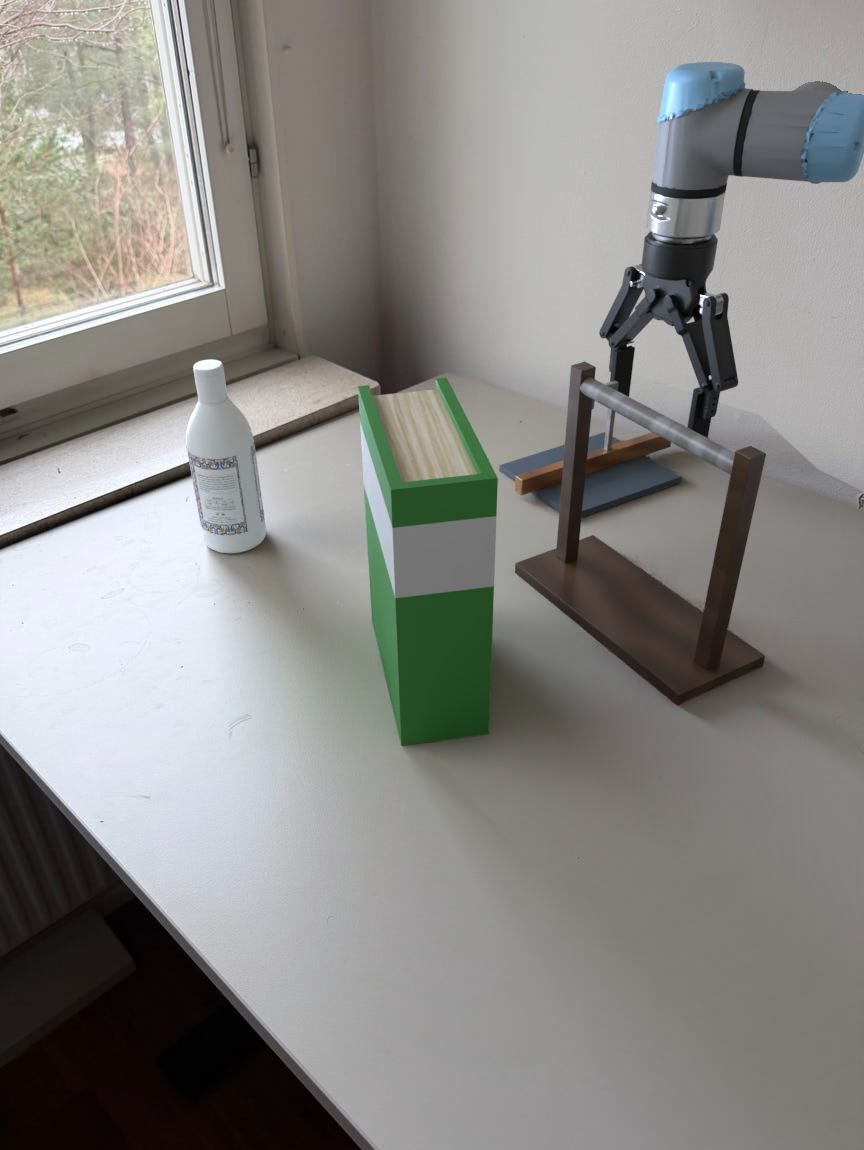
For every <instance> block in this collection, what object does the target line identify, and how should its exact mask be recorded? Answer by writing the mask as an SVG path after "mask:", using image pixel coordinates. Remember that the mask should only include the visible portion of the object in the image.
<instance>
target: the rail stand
mask: <svg viewBox="0 0 864 1150" xmlns="http://www.w3.org/2000/svg"><path fill="white" fill-rule="evenodd" d="M596 370H597V367H596V366H595V365H592V364H590V363H588V362H587V361H581V362H578V363H575V364H571V365H570V374H569V386H568V399H567V413H566V422H565V423H566V424H565V436H564V445H565V448H564V461H563V473H562V486H561V498H560V511H559V512H558V524H557V537H556V548H553V549H550V550H548V551H547V550H546V551H544V552H542V553H540V554H537V555H533V556H531V557H528V558H526V559H522V560H520V561H517V562H515V564H514V573H515V574H516V575H517V576H518V577H519V578H521V579H522V580H523V581H524V582H525V583H527V584H528V585H529V586H530V587H532V588H533V589H534V590H536V592H537V593H539V594H540V595H542V596H543V597H544V598H545V599H546V600H547V601H549V602H550V603H551V604H552V605H553V606H555V607H556V608H557V609H559V610H560V611H561V612H562V613H564V614H565V615H566V616H567V617H568V618H570V619H571V620H572V621H573V622H574V623H576V624H577V625H578V626H579V627H580V628H582V629H583V630H584V631H586V632H587V633H588V634H589V635H590V636H592V637H593V638H594V639H595V640H597V642H599V643H600V644H601V645H602V646H604V647H605V648H607V649H608V650H609V651H610V652H611V653H612V654H614V655H615V656H616V657H618V658H619V659H620V660H621V661H622V662H624V664H626V665H627V666H628V667H630V668H631V669H632V670H633V671H635V672H636V673H637V674H638V675H640V677H642V678H643V680H645V681H646V682H648V683H649V684H650V685H652V686H653V687H654V688H655V689H656V690H658V691H659V692H660V693H661V694H663V695H664V696H665V697H666V698H667V699H668V700H670V702H672V703H674V704H675V705H676V706H679V705H681V704H683V703H685V702H687V701H689V700H691V699H694V698H696V697H698V696H700V695H703V694H705V693H707V692H710V691H712V690H714V689H716V688H719V687H720V686H722V685H724V684H726V683H729V682H732V681H733V680H735V679H738V678H740V677H742V676H744V675H746V674H749V673H751V672H753V671H755V670H757V669H760V668H761V667H763V666H764V662H765V658H766V655H765V654H763V652H760V651H759V650H757V648H755V647H753V646H752V645H751V644H749V642H746V641H745V640H744V639H742V638H741V637H739V636H738V635H737V634H735V633H734V632H732V631H731V630H729V625H730V620H731V615H732V611H733V607H734V602H735V598H736V592H737V589H738V583H739V579H740V575H741V570H742V565H743V562H744V556H745V553H746V547H747V543H748V538H749V533H750V529H751V525H752V521H753V516H754V512H755V506H756V503H757V497H758V493H759V489H760V484H761V480H762V475H763V471H764V466H765V461H766V457H767V453H766V452H765V451H762V450H760V449H758V448H756V447H754V446H753V445H749V446H745V447H742V448H740V449H737V450H735V451H733V450H732V449H729V448H727V447H726V446H725V445H722V444H720V443H718V442H716V441H714V440H712V439H710V438H709V437H708V438H706V437H704V436H703V435H701V434H699V433H697V432H695V431H693V430H691V429H689V428H687V427H688V426H685V425H683V424H681V423H680V422H677V421H676V420H673V419H672V418H670V417H668V416H666V415H664V414H662V413H660V412H659V411H657V410H655V409H653V408H651V407H649V406H647V405H645V404H644V403H642V402H640V401H637V400H636V399H634V398H631V397H630V396H629V397H628V396H626V395H624V394H622V393H620V392H618V391H616V390H614V389H613V388H611V387H609V386H607V385H605V384H604V383H603V382H601V381H599V380H597V379H595V378H596V372H597V371H596ZM593 400H595V402H596V403H598V404H600V405H602V406H604V407H606V408H607V409H608V408H609V409H611V410H613V411H615V413H617V414H618V415H620V416H621V417H624V418H626V419H627V420H629V421H631V422H633V423H635V424H637V425H639V426H640V427H642V428H644V429H646V430H648V431H649V432H650V433H652V432H653V433H655V434H657V435H659V436H660V437H662V438H664V439H666V440H668V441H670V442H671V444H673V445H675V446H677V447H678V448H681V449H683V451H686V452H688V453H689V454H692V455H694V456H695V457H697V458H699V459H701V460H703V461H705V462H706V463H708V464H710V465H712V466H713V467H715V468H718V469H719V470H721V471H723V472H725V473H726V474H728V475H729V481H728V486H727V489H726V490H727V491H726V496H725V500H724V506H723V512H722V516H721V520H720V527H719V531H718V532H719V533H718V536H717V541H716V546H715V551H714V556H713V560H712V561H713V562H712V567H711V572H710V576H709V581H708V587H707V592H706V597H705V601H704V606H703V610H701V609H699V608H698V607H696V606H695V605H694V604H693V603H691V602H689V601H688V600H687V599H685V598H684V597H683V596H681V595H680V594H678V593H676V591H674V590H672V589H671V588H669V586H667V585H666V584H663V582H661V581H660V580H658V579H656V578H655V577H654V576H652V575H651V574H649V572H647V571H645V570H644V569H642V567H639V565H637V564H635V563H634V562H632V560H630V559H628V558H627V557H625V556H624V555H622V554H621V553H619V552H618V551H617V550H615V549H614V548H612V547H611V546H610V545H608V544H607V543H605V542H604V541H602V540H601V539H600V538H598V537H597V536H595V535H594V534H592V535H589V536H586V537H584V538H581V528H582V527H581V526H582V518H583V517H582V507H583V496H584V486H585V476H586V465H587V455H588V444H589V437H590V433H591V423H592V413H593V409H592V402H593ZM580 538H581V539H580Z"/></svg>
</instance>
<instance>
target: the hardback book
mask: <svg viewBox="0 0 864 1150" xmlns="http://www.w3.org/2000/svg"><path fill="white" fill-rule="evenodd" d="M357 395H358V396H357V397H358V412H359V413H358V414H359V427H360V428H359V429H360V430H359V431H360V443H361V444H360V446H361V462H362V478H363V479H362V480H363V494H364V495H363V496H364V509H365V511H364V512H365V525H366V526H365V527H366V528H365V529H366V543H367V544H366V545H367V559H368V560H367V561H368V579H369V593H370V594H369V596H370V611H371V612H370V613H371V623H372V628H373V629H374V630H373V631H374V635H375V636H374V637H375V640H376V643H377V648H378V652H379V657H380V660H381V665H382V669H383V673H384V678H385V682H386V686H387V691H388V695H389V699H390V703H391V708H392V713H393V716H394V721H395V724H396V729H397V733H398V737H399V740H400V745H401V746H410V745H417V744H424V743H431V742H439V741H448V740H454V739H463V738H468V737H476V736H482V735H489V734H490V711H491V683H492V658H493V657H492V654H493V653H492V652H493V626H494V625H493V624H494V602H495V601H494V600H495V599H494V597H495V596H494V595H495V573H496V572H495V571H496V544H497V541H496V540H497V516H498V515H497V514H498V511H497V510H498V486H499V485H498V484H499V478H498V476H497V473H496V471H495V469H494V468H493V465H492V464H491V462H490V459H489V458H488V456H487V454H486V452H485V449H484V448H483V445H482V444H481V442H480V440H479V439H478V437H477V435H476V432H475V430H474V428H473V427H472V424H471V422H470V420H469V419H468V417H467V414H466V412H465V411H464V408H463V407H462V405H461V403H460V400H459V399H458V397H457V394H456V393H455V391H454V389H453V387H452V385H451V383H450V382H449V379H448V378H447V377H438V378H435V388H434V389H425V390H415V391H406V392H396V393H387V394H386V393H385V394H376V395H373V392H372V390H371V387H370V384H366V385H358V386H357Z"/></svg>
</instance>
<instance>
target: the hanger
mask: <svg viewBox="0 0 864 1150" xmlns="http://www.w3.org/2000/svg"><path fill="white" fill-rule="evenodd" d="M618 383H619V382H617V381H611V382H610V381H608V382H604V383H603V384H605V385H607V386H609V387H611V388H613V389H614V390H616V391H618ZM595 402H596V401H595V400H593V402H592V410H594V409H595ZM606 414H607V415H606V424H605V431H604V432H605V441H604V448H601V449H598V450H595V451H592V452H589V453H588V455H587V465H586V474H589V473H592V472H595V471H599V470H602V469H605V468H608V467H611V466H614V465H617V464H620V463H623V462H626V461H629V460H632V459H635V458H638V457H641V456H644V455H645V456H648V455H650V454H654V453H656V452H660V451H663V450H666V449H669V448H671V447H672V443H671V442H670V441H668V440H666V439H664V438H662V437H660V436H659V435H657V434H655V433H653V432H649V433H646V434H642V435H639V436H636V437H633V438H629V439H626V440H623V441H621V442H620V443H617V444H614V445H612V437H614V428H615V418H616V412H615V411H613V410H611V409H609V408H607V413H606ZM563 461H564V460H563ZM563 461H560V462H557V463H554V464H551V465H548V466H544V467H541V468H538V469H535V470H532V471H529V472H525V473H522V474H519V475H516V477H515V481H514V492H516V493H517V494H519V495H520V496H525V495H529V494H532V493H531V492H534V491H537V490H540V489H543V488H546V487H550V486H553V485H556V484H559V483H562V473H563Z"/></svg>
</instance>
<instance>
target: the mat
mask: <svg viewBox="0 0 864 1150" xmlns="http://www.w3.org/2000/svg"><path fill="white" fill-rule="evenodd" d="M605 432H606V431H604V432H601V433H597V434H594V435H591V436H589V444H588V453H589V452H592V451H595V450H598V449H601V448H604V441H605ZM620 442H622V440H619V439H618V438H616V437H614V436H613V437H612V445H614V444H617V443H620ZM564 448H565V444H562V445H559V446H556V447H553V448H549V449H547V450H543V451H540V452H537V453H533V454H531V455H527V456H524V457H521V458H518V459H517V458H516V459H514V460H512V461H508V462H505V463H502V464H499V465H498V467H499V468H498V470H499V472H500V473H502V474H503V475H505V476H506V477H508V478H509V479H510V480H512V481H513V482H515V477H516V475H519V474H522V473H525V472H529V471H532V470H535V469H538V468H541V467H544V466H548V465H551V464H554V463H557V462H560V461H563V460H564ZM682 479H683V476H682V475H680V474H678V473H676V472H675V471H673V470H671V469H669V468H668V467H666V466H664V465H663V464H661V463H659V462H657V461H656V460H655V459H652V458H651V457H649V456H648V455H644V456H641V457H638V458H635V459H632V460H629V461H626V462H623V463H620V464H617V465H614V466H611V467H608V468H605V469H602V470H599V471H595V472H592V473H589V474H586V476H585V486H584V496H583V507H582V517H581V518H583V517H586V516H589V515H592V514H594V513H598V512H600V511H603V510H606V509H609V508H612V507H615V506H618V505H620V504H623V503H626V502H628V501H632V500H635V499H637V498H640V497H643V496H646V495H648V494H652V493H654V492H657V491H660V490H663V489H666V488H669V487H672V486H675V485H677V484H680V483H682ZM561 486H562V483H559V484H556V485H553V486H550V487H546V488H543V489H540V490H537V491H534V492H531V493H530V494H531V495H533V496H534V497H536V498H538V499H539V500H540V501H541V502H543V503H544V504H546V505H547V506H549V507H550V508H552V509H553V510H555V511H556V512H557V513H559V511H560V498H561Z"/></svg>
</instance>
